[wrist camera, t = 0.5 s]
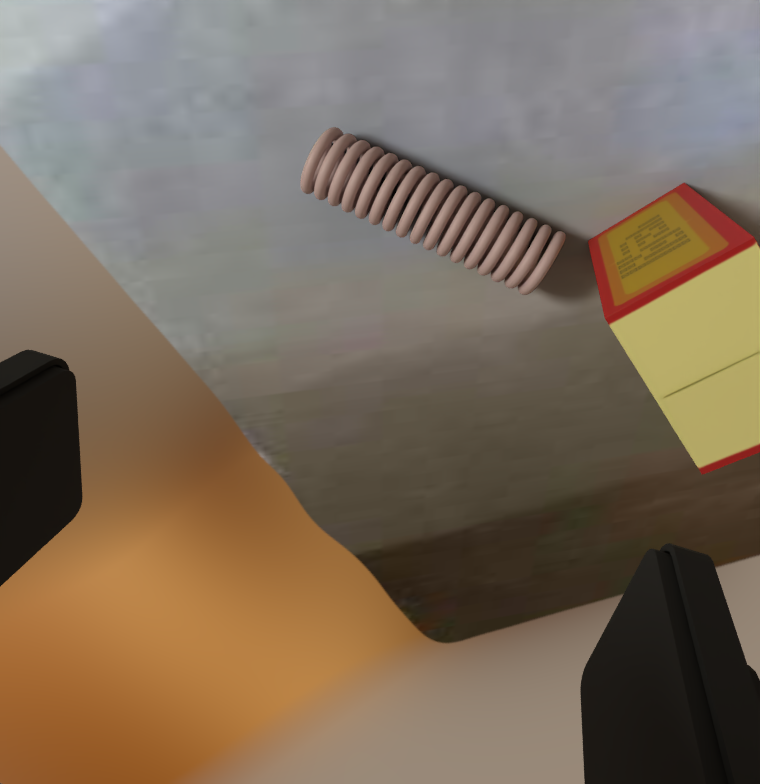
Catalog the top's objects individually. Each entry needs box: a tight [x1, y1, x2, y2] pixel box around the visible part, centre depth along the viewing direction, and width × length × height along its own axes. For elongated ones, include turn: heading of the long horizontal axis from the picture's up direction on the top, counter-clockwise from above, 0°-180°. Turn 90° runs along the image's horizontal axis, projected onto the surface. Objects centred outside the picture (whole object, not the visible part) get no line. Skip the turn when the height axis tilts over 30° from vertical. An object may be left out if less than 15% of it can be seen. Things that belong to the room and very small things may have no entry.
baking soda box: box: [588, 183, 760, 475], centre depth 35 cm, size 10×6×16 cm
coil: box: [301, 127, 566, 295], centre depth 42 cm, size 5×5×18 cm
